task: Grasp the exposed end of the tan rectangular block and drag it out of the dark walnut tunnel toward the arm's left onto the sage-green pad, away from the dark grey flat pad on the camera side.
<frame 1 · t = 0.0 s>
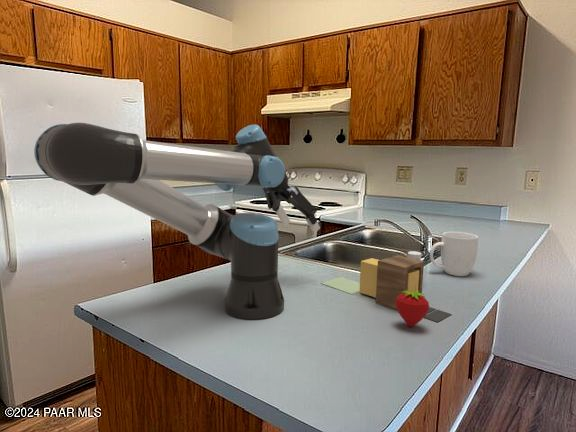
hand: (301, 227, 128), 15 cm above the worktop, tool tilted 35°, fingers open, 13 cm apart
pill bottle: (412, 284, 122), on the worktop
dark grey flat pad: (429, 313, 100), on the worktop
mug: (453, 274, 133), on the worktop
tunnel: (398, 303, 106), on the worktop
tan rectangular block: (388, 281, 108), point 5 cm above the worktop, slide at 0.0 cm
strawberry: (410, 327, 92), on the worktop
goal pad: (345, 285, 119), on the worktop
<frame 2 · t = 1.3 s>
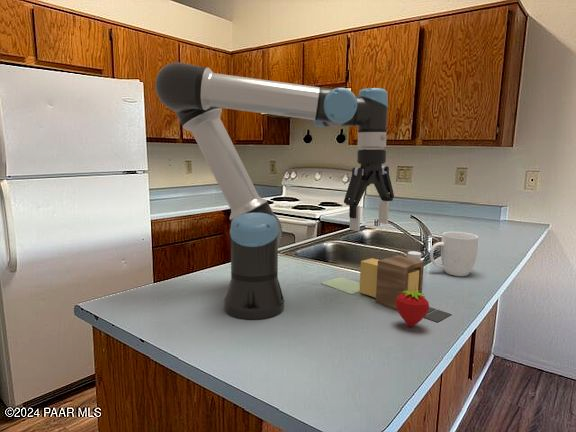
hand: (369, 226, 111), 19 cm above the worktop, tool pointing down, fingers open, 13 cm apart
nothing on the worktop moved.
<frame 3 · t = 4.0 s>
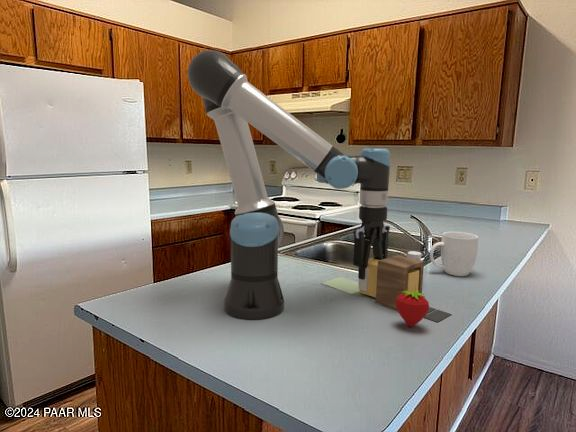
hand: (369, 287, 113), 2 cm above the worktop, tool pointing down, fingers closed on tan rectangular block, 5 cm apart
tan rectangular block: (388, 281, 108), point 5 cm above the worktop, slide at 0.0 cm, touching gripper
everything else where it was.
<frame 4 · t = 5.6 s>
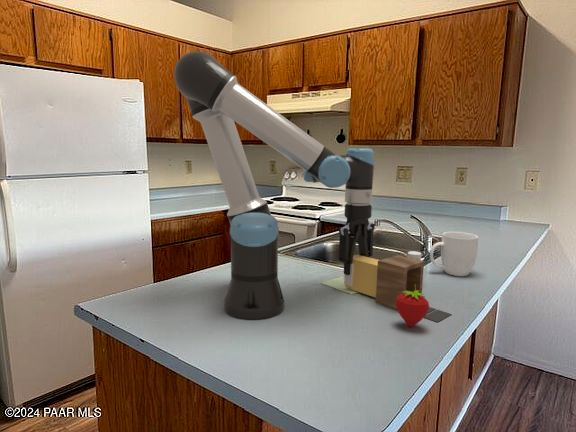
hand: (355, 282, 116), 2 cm above the worktop, tool pointing down, fingers closed on tan rectangular block, 5 cm apart
tan rectangular block: (372, 277, 111), point 5 cm above the worktop, slide at 5.1 cm, touching gripper
everything else where it was.
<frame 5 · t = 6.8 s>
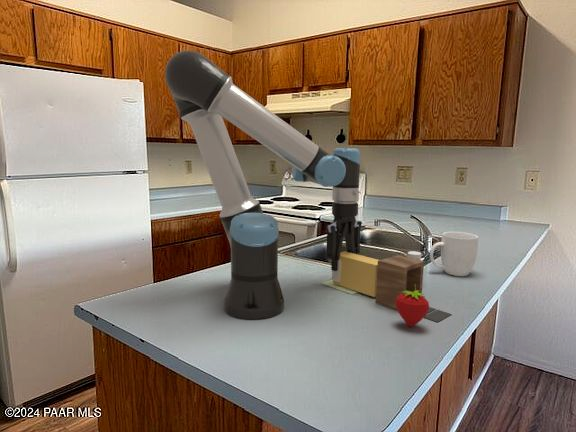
hand: (342, 278, 120), 2 cm above the worktop, tool pointing down, fingers closed on tan rectangular block, 5 cm apart
tan rectangular block: (358, 273, 115), point 5 cm above the worktop, slide at 9.9 cm, touching gripper
everything else where it was.
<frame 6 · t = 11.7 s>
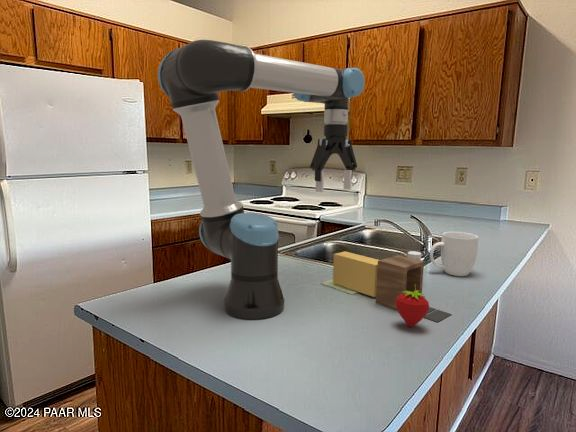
hand: (333, 190, 131), 27 cm above the worktop, tool pointing down, fingers open, 13 cm apart
tan rectangular block: (358, 272, 115), point 5 cm above the worktop, slide at 10.0 cm
everything else where it was.
at the end: tan rectangular block slide at 10.0 cm; the gripper is holding nothing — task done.
